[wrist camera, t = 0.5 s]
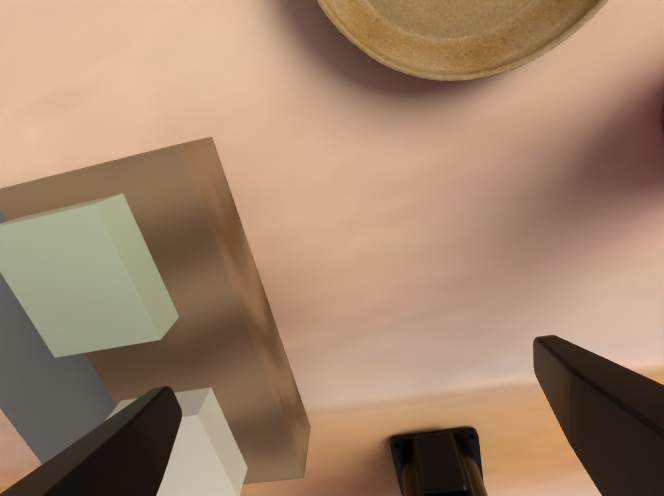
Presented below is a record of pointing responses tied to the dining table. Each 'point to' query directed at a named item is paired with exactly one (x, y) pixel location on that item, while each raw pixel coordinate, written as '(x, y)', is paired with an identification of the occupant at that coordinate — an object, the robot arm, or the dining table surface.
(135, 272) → the tile sage
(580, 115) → the dining table surface
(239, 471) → the tile cream
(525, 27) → the plant saucer
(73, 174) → the deck
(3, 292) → the mat
